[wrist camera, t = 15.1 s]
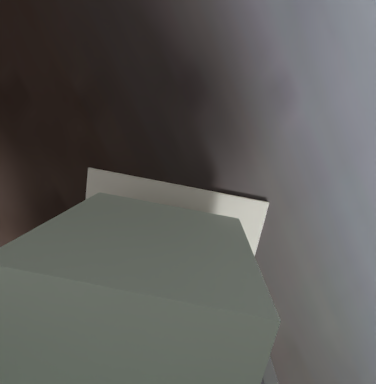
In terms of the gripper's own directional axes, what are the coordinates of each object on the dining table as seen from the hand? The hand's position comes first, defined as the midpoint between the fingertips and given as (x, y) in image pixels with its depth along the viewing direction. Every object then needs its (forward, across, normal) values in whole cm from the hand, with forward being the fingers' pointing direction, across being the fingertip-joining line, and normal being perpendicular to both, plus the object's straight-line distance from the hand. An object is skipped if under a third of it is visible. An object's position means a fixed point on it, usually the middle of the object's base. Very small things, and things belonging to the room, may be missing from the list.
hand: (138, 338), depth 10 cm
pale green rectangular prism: (+3, 0, 0) cm, 3 cm away
